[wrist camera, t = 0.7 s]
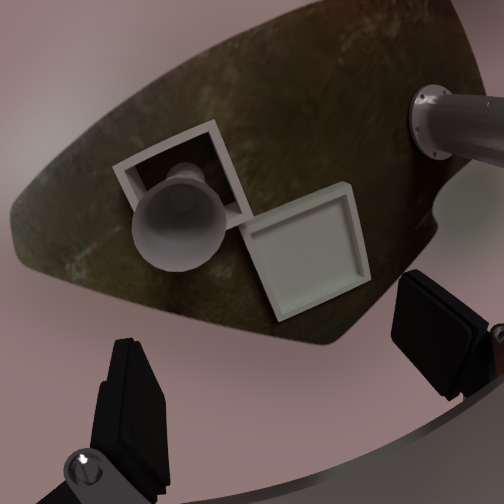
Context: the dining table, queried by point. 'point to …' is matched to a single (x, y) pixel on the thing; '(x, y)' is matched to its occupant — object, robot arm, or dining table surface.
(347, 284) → the tray
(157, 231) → the chalice
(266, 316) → the dining table surface
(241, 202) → the sleeve
